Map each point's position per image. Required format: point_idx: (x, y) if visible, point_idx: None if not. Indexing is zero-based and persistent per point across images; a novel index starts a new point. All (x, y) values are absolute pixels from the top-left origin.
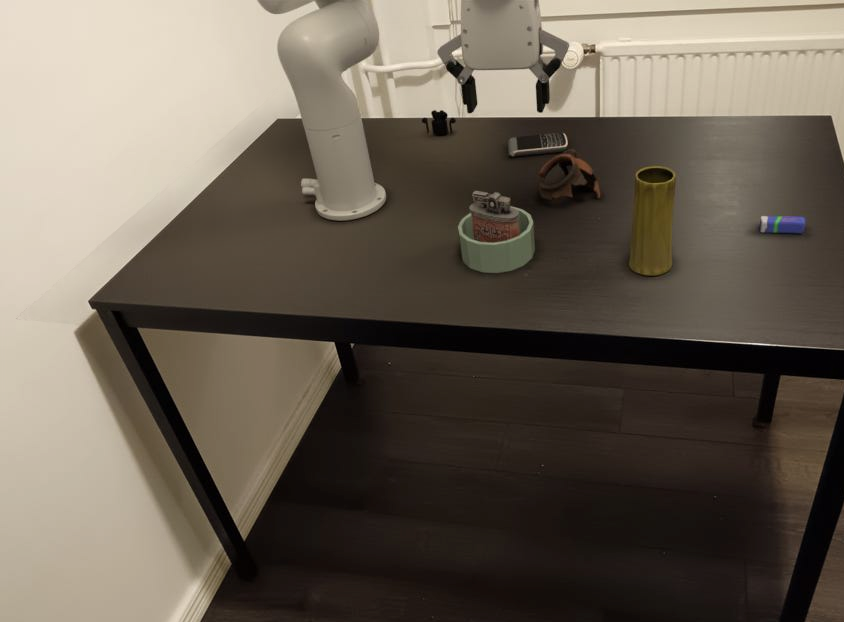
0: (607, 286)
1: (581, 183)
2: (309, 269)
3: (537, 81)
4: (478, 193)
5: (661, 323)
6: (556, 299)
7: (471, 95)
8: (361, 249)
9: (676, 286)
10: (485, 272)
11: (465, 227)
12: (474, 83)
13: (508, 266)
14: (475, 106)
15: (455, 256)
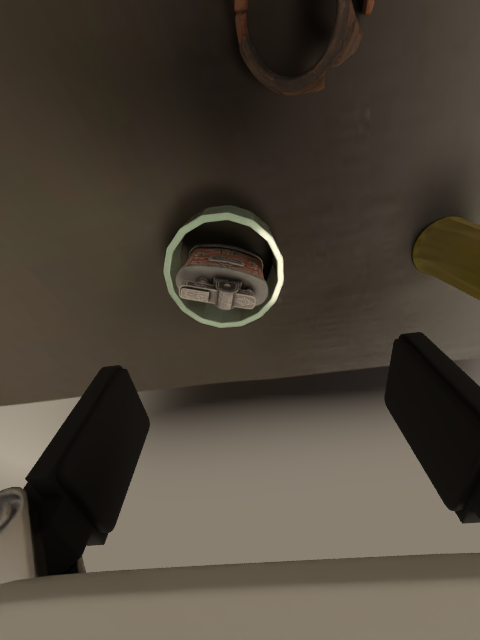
0: (381, 301)
1: (351, 53)
2: (16, 340)
3: (465, 492)
4: (191, 297)
5: None
6: (324, 333)
7: (126, 476)
8: (38, 290)
9: None
10: None
11: (173, 270)
12: (85, 460)
13: None
14: (134, 394)
15: None
